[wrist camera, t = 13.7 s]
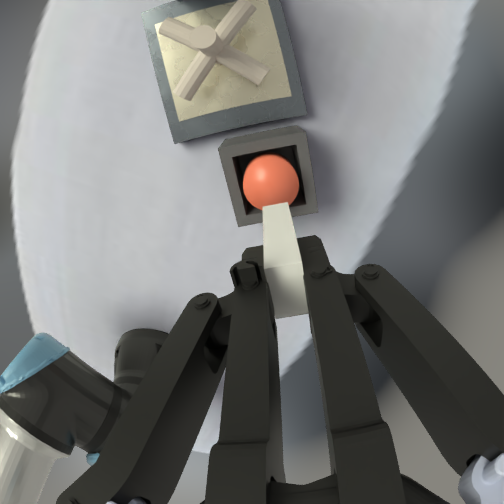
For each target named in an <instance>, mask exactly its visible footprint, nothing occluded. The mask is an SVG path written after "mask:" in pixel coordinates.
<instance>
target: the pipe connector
mask: <svg viewBox="0 0 504 504" xmlns="http://www.w3.org/2000/svg"><path fill="white" fill-rule="evenodd" d="M256 10H257V9H256V7H255V6H254V5H252V4H251V3H249V2H248V1H245V0H238V1H237V2H236V3H235V4H234V6H233V7H232V8H231V9H230V11H229V12H228V13H227V14H226V16H225V17H224V18H223V19H222V21H221V22H220V23H219V25H218V26H217V27H216V29H215V30H214V29H213V28H212V27H210V26H208V25H201V26H198V27H196V28H194V27H192V26H190V25H188V24H185V23H183V22H181V21H178V20H176V19H174V18H171V17H168V18H166V19H165V20H164V21H163V22H162V24H161V26H160V27H159V31H158V32H159V34H161V35H163V36H165V37H168V38H170V39H172V40H174V41H176V42H179V43H181V44H183V45H185V46H187V47H189V48H191V49H193V50H195V51H197V52H198V54H197V55H196V56H195V58H194V59H193V61H192V62H191V64H190V65H189V67H188V68H187V70H186V72H185V73H184V75H183V76H182V78H181V79H180V81H179V83H178V84H177V86H176V87H175V89H174V91H173V93H174V94H176V95H177V96H179V97H181V98H183V99H185V100H188V101H191V100H192V98H193V97H194V95H195V93H196V92H197V90H198V89H199V87H200V86H201V84H202V83H203V81H204V80H205V78H206V77H207V75H208V74H209V72H210V71H211V69H212V68H213V66H214V65H215V63H216V64H222V65H224V66H226V67H228V68H229V69H231V70H233V71H235V72H236V73H238V74H240V75H242V76H243V77H245V78H247V79H248V80H250V81H252V82H253V83H255V84H257V85H259V84H260V83H261V82H262V80H263V79H264V78H265V76H266V75H267V73H268V72H269V71H270V68H269V67H267V66H265V65H264V64H262V63H260V62H259V61H257V60H255V59H254V58H252V57H250V56H248V55H247V54H245V53H243V52H241V51H240V50H238V49H236V48H234V47H232V46H230V45H229V44H230V43H231V41H232V40H233V39H234V37H235V36H236V35H237V33H238V32H239V31H240V30H241V28H242V27H243V26H244V24H245V23H246V22H247V21H248V19H249V18H250V17H251V16H252V15H253V13H254V12H255V11H256Z"/></svg>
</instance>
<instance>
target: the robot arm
mask: <svg viewBox="0 0 504 504" xmlns="http://www.w3.org/2000/svg"><path fill="white" fill-rule="evenodd" d="M230 274H231V277H232V281H233V284H234V287H235V288H234V291H233V292H232V293H230V294H229V295H226V296H224V297H221V298H217V296H216V295H215V294H213V293H202V294H199V295H197V296H195V297H194V298H192V299H191V300H190V301H189V302H188V304H187V306H186V307H185V309H184V310H183V312H182V314H181V315H180V317H179V319H178V320H177V322H176V324H175V325H174V327H173V329H172V330H171V332H170V334H167V333H164V332H161V331H157V330H152V329H135V330H131V331H128V332H126V333H125V334H124V335H122V337H121V338H120V340H119V342H118V344H117V347H116V349H115V363H114V381H113V382H112V381H110V380H109V379H107V378H106V377H105V376H103V375H102V374H100V373H99V372H97V371H96V370H95V369H93V368H92V367H90V366H89V365H88V364H86V363H85V362H84V361H82V360H81V359H80V358H79V357H77V356H76V355H75V354H74V353H72V352H71V351H70V348H68V347H65V346H64V345H62V344H61V343H60V342H58V341H57V340H56V339H54V338H53V337H52V336H51V335H49V334H47V333H39V334H36V335H35V336H34V337H33V338H32V339H31V340H30V341H29V342H28V343H27V345H26V346H25V347H24V348H23V349H22V350H21V351H20V353H19V354H18V355H17V356H16V357H15V358H14V360H13V361H12V362H11V363H10V365H9V366H8V367H7V369H6V370H5V371H4V372H3V374H2V375H1V376H0V393H1V396H0V504H37V502H38V500H39V497H40V494H41V492H42V489H43V487H44V484H45V482H46V479H47V477H48V475H49V473H50V470H51V468H52V466H53V463H54V461H55V460H56V459H59V458H65V457H69V456H70V454H71V452H72V450H73V448H74V446H77V447H79V448H81V449H83V450H85V451H86V452H88V454H87V456H86V457H87V462H88V464H89V465H91V467H90V468H89V469H88V470H87V471H86V472H85V473H84V474H83V475H82V476H81V477H79V478H78V479H77V480H76V481H75V482H74V483H73V484H72V485H71V486H69V487H68V488H67V489H66V490H65V491H64V492H63V493H62V494H61V495H60V496H59V497H58V499H57V501H56V504H167V503H168V502H169V500H170V498H171V496H172V494H173V492H174V490H175V488H176V486H177V484H178V481H179V479H180V477H181V474H182V472H183V469H184V467H185V465H186V462H187V460H188V457H189V455H190V453H191V451H192V448H193V446H194V443H195V441H196V439H197V436H198V434H199V431H200V429H201V427H202V424H203V422H204V419H205V417H206V414H207V412H208V409H209V407H210V405H211V402H212V400H213V397H214V395H215V392H216V390H217V387H218V385H219V382H220V380H221V377H222V375H223V372H224V370H225V367H226V372H225V382H224V392H223V402H222V412H221V423H220V433H219V440H218V442H217V443H216V444H214V445H213V446H212V448H211V451H210V456H209V465H208V475H207V485H206V495H205V500H204V501H203V502H202V503H200V504H450V503H448V502H446V501H445V500H443V499H442V498H440V497H439V496H437V495H435V494H434V493H432V492H431V491H429V490H428V489H426V488H425V487H423V486H422V485H420V484H419V483H417V482H416V481H414V480H413V479H411V478H409V477H407V476H405V475H403V474H400V470H399V465H398V461H397V456H396V452H395V448H394V443H393V439H392V435H391V432H390V429H389V426H388V424H387V423H386V422H384V421H383V420H382V417H381V414H380V410H379V406H378V403H377V399H376V395H375V392H374V388H373V384H372V381H371V377H370V374H369V370H368V367H367V364H366V360H365V357H364V354H363V351H362V348H361V344H360V341H359V338H358V335H357V331H356V328H355V325H354V323H355V324H356V327H357V328H358V330H359V331H360V333H361V334H362V335H363V337H364V338H365V340H366V341H367V342H368V344H369V345H370V347H371V348H372V350H373V351H374V352H375V354H376V355H377V357H378V358H379V360H380V361H381V362H382V364H383V365H384V367H385V368H386V370H387V371H388V373H389V374H390V376H391V377H392V378H393V380H394V381H395V383H396V384H397V386H398V387H399V389H400V390H401V392H402V393H403V395H404V396H405V398H406V399H407V401H408V402H409V404H410V405H411V407H412V408H413V410H414V411H415V413H416V414H417V416H418V417H419V419H420V421H421V422H422V424H423V425H424V427H425V428H426V430H427V431H428V433H429V435H430V436H431V438H432V439H433V441H434V443H435V444H436V446H437V447H438V449H439V450H440V452H441V454H442V455H443V457H444V458H445V459H446V461H447V462H448V464H449V465H450V466H451V467H452V468H453V469H454V470H455V471H456V472H457V474H459V475H460V476H461V478H460V481H459V486H458V490H459V494H460V496H461V497H462V498H463V500H464V501H465V503H466V504H504V395H503V394H502V392H501V391H500V390H499V389H498V387H497V386H496V385H495V384H494V383H493V381H492V380H491V379H490V378H489V377H488V376H487V374H486V373H485V372H484V371H483V370H482V368H481V367H480V366H479V365H478V364H477V363H476V362H475V360H474V359H473V358H472V357H471V356H470V355H469V354H468V353H467V351H465V349H464V348H463V347H462V346H461V345H460V344H459V343H458V342H457V340H456V339H455V338H454V337H453V336H452V335H451V334H450V333H449V332H448V331H447V330H446V329H445V328H444V327H443V326H442V325H441V324H440V323H439V321H437V319H436V318H435V317H434V316H432V314H431V313H430V312H429V311H428V310H427V309H426V308H425V307H424V306H423V305H422V304H421V303H420V302H419V301H418V300H417V299H416V298H415V297H414V296H413V295H412V294H411V293H410V292H409V291H408V290H407V289H406V288H404V287H403V286H402V285H401V284H400V283H399V282H398V281H397V280H396V279H395V278H394V277H393V276H392V275H391V274H390V273H389V272H388V271H386V270H385V269H384V268H383V267H381V266H379V265H376V264H366V265H362V266H360V267H358V268H357V269H356V271H355V274H342V273H338V272H336V271H335V269H334V268H333V266H331V265H330V262H329V260H328V257H327V254H326V252H325V249H324V246H323V244H322V241H321V239H320V238H318V237H317V236H316V235H313V236H307V237H302V238H296V234H295V230H294V226H293V221H292V217H291V213H290V209H289V205H288V202H285V203H280V204H274V205H269V206H264V207H263V245H261V246H256V247H250V248H246V250H245V251H244V252H243V254H242V261H240V262H238V263H236V264H234V265H233V266H232V267H231V269H230ZM303 314H309V319H310V327H311V334H312V337H313V343H314V348H315V355H316V361H317V368H318V374H319V381H320V387H321V394H322V401H323V408H324V416H325V423H326V429H327V439H328V447H329V455H330V465H331V475H330V476H328V477H326V478H323V479H320V480H317V481H315V482H312V483H309V484H306V485H296V484H288V483H286V480H285V473H284V466H283V442H282V419H281V396H280V377H279V358H278V341H277V326H276V322H275V318H276V319H278V318H285V317H291V316H297V315H303Z"/></svg>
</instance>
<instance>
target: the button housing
mask: <svg viewBox="0 0 504 504" xmlns="http://www.w3.org/2000/svg"><path fill="white" fill-rule="evenodd" d="M218 151H219V155H220V159H221V163H222V167H223V170H224V174H225V178H226V182H227V186H228V190H229V193H230V197H231V201H232V205H233V209H234V212H235V216H236V220H237V224H238V227H241V226H246V225H252V224H257V223H262V222H263V210H260V209H258V208H256V207H254V206H253V205H252V204H251V203H250V202H249V201H248V200H247V198H246V196H245V194H244V190H243V180H244V174H245V170H246V167H247V165H248V163H249V162H250V161H251V160H252V159H253V158H254V157H255V156H257V155H259V154H261V153H266V152H274V153H278V154H281V155H283V156H284V157H286V158H287V159H288V160H289V161H290V163H291V164H292V166H293V168H294V170H295V172H296V174H297V177H298V180H299V190H298V194H297V196H296V198H295V199H294V201H293V202H292V203H291V204H290V205H289V209H290V213H291V217H295V216H300V215H306V214H311V213H317V212H318V207H317V199H316V192H315V186H314V179H313V172H312V166H311V160H310V154H309V148H308V142H307V137H306V132H305V131H304V130H302V129H301V128H300V127H298V126H297V125H296V126H290V127H284V128H279V129H273V130H268V131H263V132H258V133H253V134H248V135H243V136H239V137H234V138H230V139H225V140H224V142H223V143H222V144H221V146H220V147H219V148H218Z"/></svg>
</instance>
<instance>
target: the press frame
mask: <svg viewBox="0 0 504 504" xmlns="http://www.w3.org/2000/svg"><path fill="white" fill-rule="evenodd" d="M237 1H238V0H176V1H173V2H170V3H167V4H164V5H161V6H158V7H156V8H153V9H150V10H148V11H145V12H143V13H141V15H142V19H143V24H144V28H145V32H146V37H147V41H148V45H149V49H150V54H151V58H152V62H153V66H154V70H155V74H156V78H157V82H158V86H159V89H160V93H161V97H162V101H163V105H164V108H165V112H166V116H167V119H168V123H169V127H170V130H171V134H172V137H173V141H174V144H176V143H180V142H183V141H187V140H190V139H194V138H198V137H202V136H205V135H209V134H213V133H217V132H221V131H226V130H230V129H234V128H239V127H243V126H248V125H253V124H258V123H263V122H268V121H273V120H279V119H285V118H291V117H297V116H304V115H307V111H306V106H305V101H304V96H303V91H302V86H301V81H300V77H299V72H298V68H297V64H296V59H295V55H294V51H293V47H292V43H291V39H290V35H289V31H288V27H287V24H286V20H285V16H284V13H283V9H282V6H281V2H280V0H245V1H248V2H249V3H251V4H252V5H254V6H255V7H256V9H257V10H256V11H255V12H254V13H253V15H252V16H251V17H250V18H249V19H248V21H247V22H246V23H245V24H244V26H243V27H242V28H241V30H240V31H239V32H238V33H237V35H236V36H235V37H234V39H233V40H232V41H231V43H230V44H229V45H230V46H232V47H234V48H236V49H238V50H240V51H241V52H243V53H245V54H247V55H248V56H250V57H252V58H254V59H255V60H257V61H259V62H260V63H262V64H264V65H265V66H267V67H269V68H270V71H269V72H268V73H267V75H266V76H265V78H264V79H263V80H262V82H261V83H260V84H259V85H257V84H255V83H253V82H252V81H250V80H248V79H247V78H245V77H243V76H242V75H240V74H238V73H236V72H235V71H233V70H231V69H229V68H228V67H226V66H224V65H222V64H216V63H215V65H214V66H213V68H212V69H211V71H210V72H209V74H208V75H207V77H206V78H205V80H204V81H203V83H202V84H201V86H200V87H199V89H198V90H197V92H196V93H195V95H194V97H193V98H192V100H191V101H188V100H185V99H183V98H181V97H179V96H177V95H176V94H174V93H173V91H174V89H175V87H176V86H177V84H178V83H179V81H180V79H181V78H182V76H183V75H184V73H185V72H186V70H187V68H188V67H189V65H190V64H191V62H192V61H193V59H194V58H195V56H196V55H197V54H198V52H197V51H195V50H193V49H191V48H189V47H187V46H185V45H183V44H181V43H179V42H176V41H174V40H172V39H170V38H168V37H165V36H163V35H161V34H159V32H158V31H159V27H160V26H161V24H162V22H163V21H164V20H165V19H166V18H168V17H171V18H174V19H176V20H178V21H181V22H183V23H185V24H188V25H190V26H192V27H194V28H196V27H198V26H201V25H208V26H210V27H212V28H213V29H214V30H215V29H216V27H217V26H218V25H219V23H220V22H221V21H222V19H223V18H224V17H225V16H226V14H227V13H228V12H229V11H230V9H231V8H232V7H233V6H234V4H235V3H236V2H237Z"/></svg>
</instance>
